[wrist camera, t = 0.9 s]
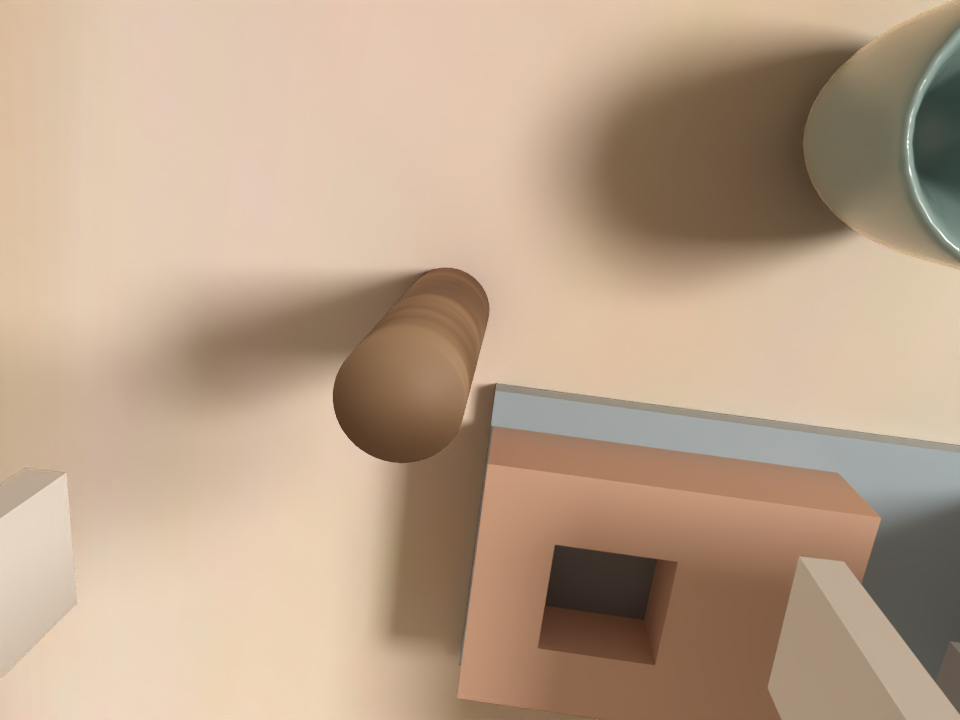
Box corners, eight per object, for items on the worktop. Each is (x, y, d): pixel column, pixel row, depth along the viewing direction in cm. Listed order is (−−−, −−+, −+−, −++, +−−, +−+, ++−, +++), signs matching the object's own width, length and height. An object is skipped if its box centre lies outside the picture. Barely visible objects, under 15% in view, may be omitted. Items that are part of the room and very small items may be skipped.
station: (496, 383, 32) (463, 602, 16) (1075, 460, 31) (1617, 768, 16) (461, 651, 36) (407, 1032, 20) (975, 726, 35) (1328, 1183, 20)
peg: (409, 262, 31) (337, 328, 19) (494, 273, 31) (471, 346, 19) (402, 344, 32) (328, 453, 20) (483, 355, 32) (457, 470, 20)
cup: (847, 277, 30) (997, 336, 20) (737, 123, 28) (842, 108, 19) (1025, 150, 28) (1284, 149, 18) (917, -20, 27) (1134, -116, 17)
